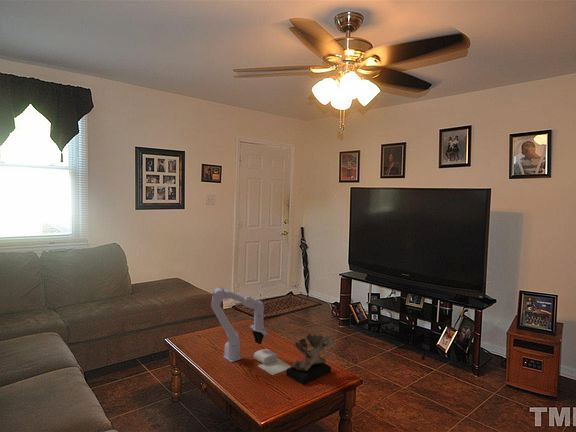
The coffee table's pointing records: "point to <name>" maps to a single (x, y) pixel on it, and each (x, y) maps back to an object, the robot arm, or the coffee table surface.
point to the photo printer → (265, 356)
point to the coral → (310, 360)
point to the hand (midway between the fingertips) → (258, 343)
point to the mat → (275, 367)
